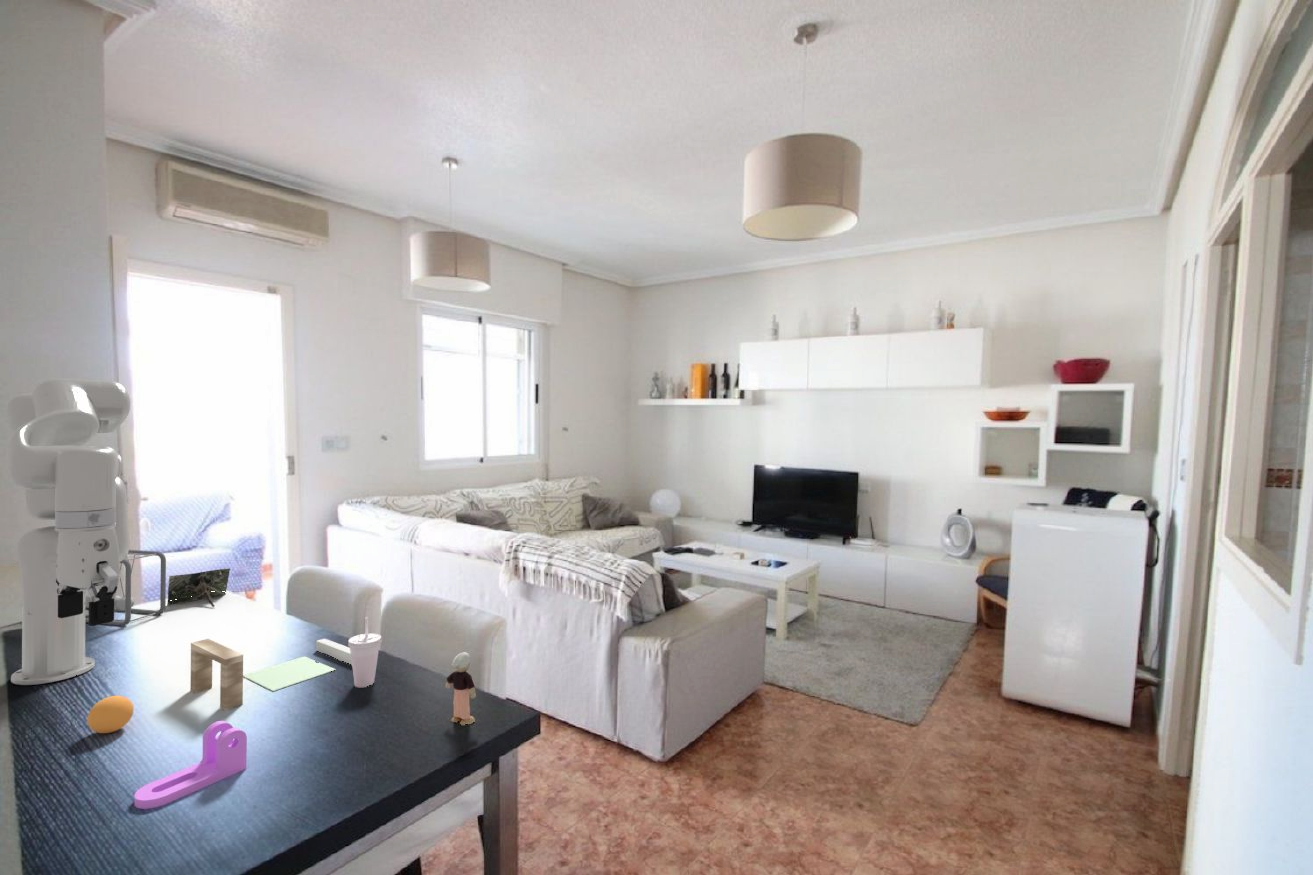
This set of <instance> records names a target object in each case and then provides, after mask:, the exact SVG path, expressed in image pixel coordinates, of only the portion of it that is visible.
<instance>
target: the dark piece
mask: <svg viewBox="0 0 1313 875" xmlns="http://www.w3.org/2000/svg"><path fill="white" fill-rule="evenodd" d="M230 571H231V568H229V567H228V568H220V569H212V570H207V571H200V572H194V573H187V574H185V573H184V574H176V575H175V574H174V575H169V579H168V587H167V605H166V606H172V605H176V604H182V603H187V602H193V601H198V600H203V599H206V600H207V602H208V603H209V604H210V605H211V607H212V608H215V604H214V602H213V600H212V598H214V597H220V596H224V595H227V589H228V581H229V577H230ZM211 591H215V592H211ZM222 591H225V592H226V593H225V592H222ZM191 596H192V597H191ZM175 599H177V600H175ZM170 600H172V601H170Z"/></svg>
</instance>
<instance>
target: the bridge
mask: <svg viewBox="0 0 1313 875" xmlns="http://www.w3.org/2000/svg"><path fill="white" fill-rule="evenodd" d="M213 661H215V662H216V663H219V664H220V673H219V674H220V675H219V676H220V682H219V683H220V684H219V686H220V690H219V691H220V692H219V693H220V694H219V708H220V709H222V710H224V711H227V710H230V709H232V708H235V707H238V706H239V707H240V706H242V705H244V704H243V701H244V699H243V698H244V697H243V696H244V695H243V694H244V690H243V689H244V677H243V675H244V654H243V653H240V652H238V651H236V650H234V649H232V648H229V647H227V646H225V645H223V644H220V643H219V642H217V641H214V640H212V639H209V638H205V639H201V640H198V641H193V642H190V687H189V688H190V691H191V692H192V693H194V694H195V693H199V692H202V691H205V690H208V689H212V688H213Z"/></svg>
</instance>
